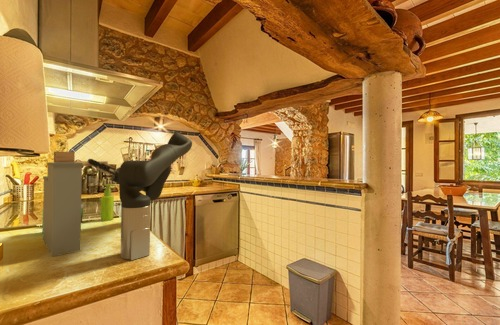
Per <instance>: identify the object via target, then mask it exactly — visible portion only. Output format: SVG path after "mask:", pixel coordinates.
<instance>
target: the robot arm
mask: <svg viewBox="0 0 500 325" xmlns="http://www.w3.org/2000/svg"><path fill="white" fill-rule="evenodd" d="M192 146H193V141H192V140H191V139H190V138H188V137H187V136H185V135H184V134H182V133H180V132H178V131H177V132H174V133H173V134H172V135H171V136H170V138H169V140H168V142H167V144H162V145H160V146H158V147H157V148H155V149H154V150H153V151H152V153H151V157H150V159H148V160H125V161H123V162H122V163H121V165H120V166H119V167H117V168H115V167H113V166H110V165H109V164H108V165H106V164H104V163H99V162H97V160H95V159H93V158H88V160H87V161H89V162H88V163H90V164H92V165H94V166H93V167H94V168H95V169H97V170H99V171H100V172H101V173H104V175H107V176H110V180H111V182H114V183H116V184H118V189H119V193H118V194H119V201H120V204H121V212H120V213H121V214H120V215H121V216H120V258H121V259H122V260H130V261H134V260H137V259H140V258H141V259H142V258H144V257H148V256H150V252H151V251H150V250H151V248H150V247H151V246H150V245H151V201H152V202H153V201H156V200H158V198H160V196H161V195H162V192H163V189H164V187H165V183H166V182H167V180H168V179H169V176H170V174H171V170H172V165H173V163H175V162H176V161H177V160H178V159H180V158H181V157H183V156H184V155H186V154H187V153H189V151H190V150H191V148H192ZM142 192H144V193H145V194H143V193H142Z"/></svg>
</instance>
